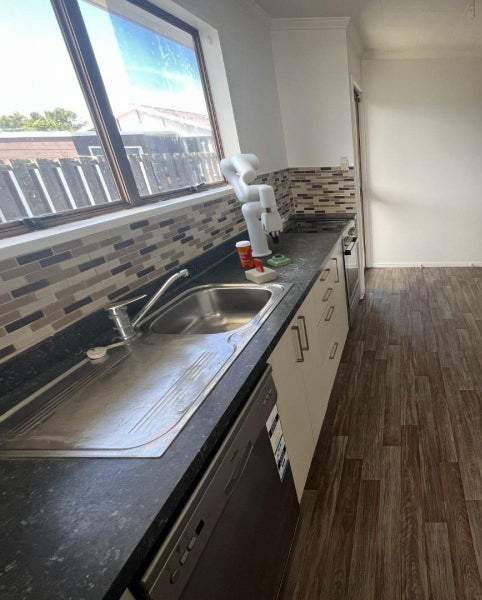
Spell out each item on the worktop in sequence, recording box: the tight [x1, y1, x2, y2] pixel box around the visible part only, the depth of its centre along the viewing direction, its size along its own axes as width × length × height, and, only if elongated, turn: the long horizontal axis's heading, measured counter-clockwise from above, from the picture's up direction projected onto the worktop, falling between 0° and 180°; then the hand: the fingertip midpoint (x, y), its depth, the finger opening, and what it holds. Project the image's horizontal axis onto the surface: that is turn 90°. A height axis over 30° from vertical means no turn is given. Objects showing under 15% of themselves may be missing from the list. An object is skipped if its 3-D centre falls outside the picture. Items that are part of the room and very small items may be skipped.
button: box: [274, 253, 282, 258], centre depth 187 cm, size 4×4×2 cm
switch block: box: [266, 254, 292, 268], centre depth 188 cm, size 10×9×4 cm
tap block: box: [244, 265, 278, 285], centre depth 167 cm, size 12×10×4 cm
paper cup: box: [235, 240, 255, 269], centre depth 182 cm, size 8×8×14 cm
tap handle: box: [253, 258, 265, 273], centre depth 165 cm, size 6×2×6 cm, turn 51°
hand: (276, 243), depth 184 cm, fingers closed
